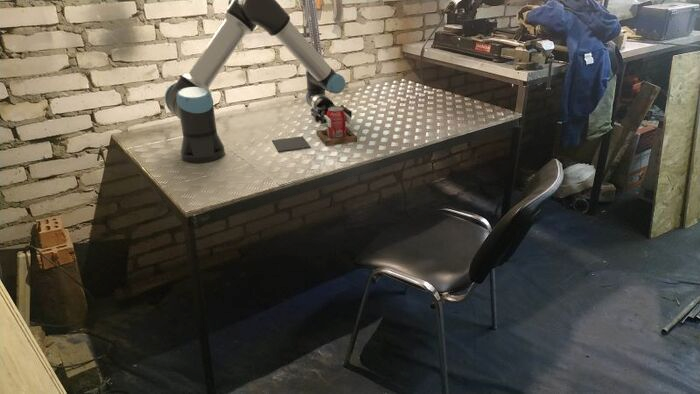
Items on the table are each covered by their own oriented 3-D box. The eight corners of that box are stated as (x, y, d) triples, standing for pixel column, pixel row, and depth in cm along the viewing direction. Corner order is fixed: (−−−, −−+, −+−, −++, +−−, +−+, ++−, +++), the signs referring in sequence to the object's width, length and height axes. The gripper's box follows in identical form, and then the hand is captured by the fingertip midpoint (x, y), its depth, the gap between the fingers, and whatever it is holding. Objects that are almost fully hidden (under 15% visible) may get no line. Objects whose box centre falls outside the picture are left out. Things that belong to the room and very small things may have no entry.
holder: (325, 146, 192) (325, 141, 191) (316, 135, 202) (316, 130, 202) (357, 141, 195) (357, 136, 194) (346, 131, 206) (346, 126, 205)
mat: (278, 152, 187) (278, 151, 187) (272, 141, 197) (272, 140, 197) (310, 147, 190) (310, 146, 190) (302, 137, 201) (302, 136, 200)
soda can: (337, 134, 203) (336, 104, 198) (349, 138, 199) (349, 108, 193) (323, 138, 199) (322, 108, 194) (336, 143, 194) (335, 112, 189)
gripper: (346, 111, 215) (365, 128, 196) (299, 117, 209) (314, 135, 190) (345, 94, 212) (365, 109, 192) (298, 99, 206) (313, 115, 187)
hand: (340, 122), depth 191 cm, fingers closed on soda can, 7 cm apart
